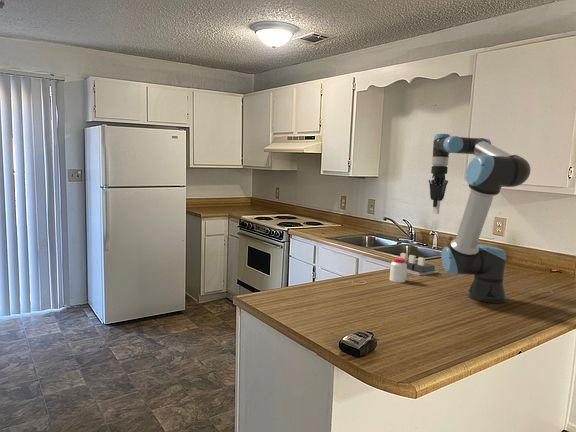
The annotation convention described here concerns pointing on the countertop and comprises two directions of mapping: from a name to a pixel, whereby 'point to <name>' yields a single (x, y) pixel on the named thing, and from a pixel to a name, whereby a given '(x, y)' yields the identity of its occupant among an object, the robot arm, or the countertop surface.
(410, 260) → the handle mid
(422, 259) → the handle far
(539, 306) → the countertop surface
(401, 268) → the pill bottle
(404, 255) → the handle
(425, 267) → the panel
